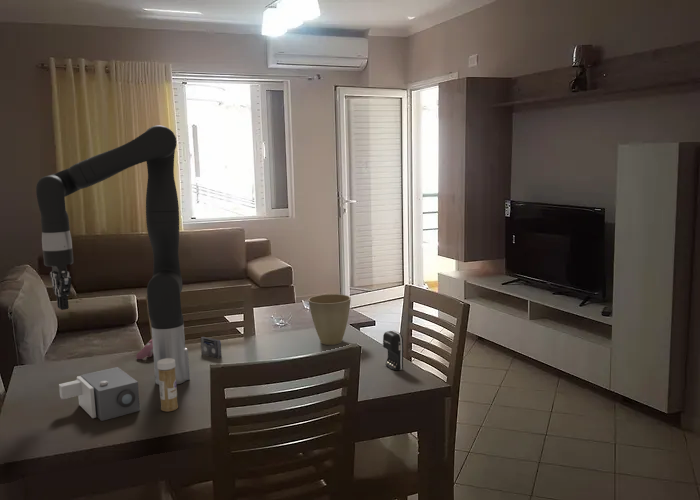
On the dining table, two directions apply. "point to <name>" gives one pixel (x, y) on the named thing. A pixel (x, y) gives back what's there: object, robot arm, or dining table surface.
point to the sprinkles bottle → (167, 384)
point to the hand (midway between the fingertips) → (63, 308)
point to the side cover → (80, 394)
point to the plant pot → (330, 316)
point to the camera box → (113, 393)
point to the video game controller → (146, 351)
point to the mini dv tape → (211, 347)
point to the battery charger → (394, 349)
